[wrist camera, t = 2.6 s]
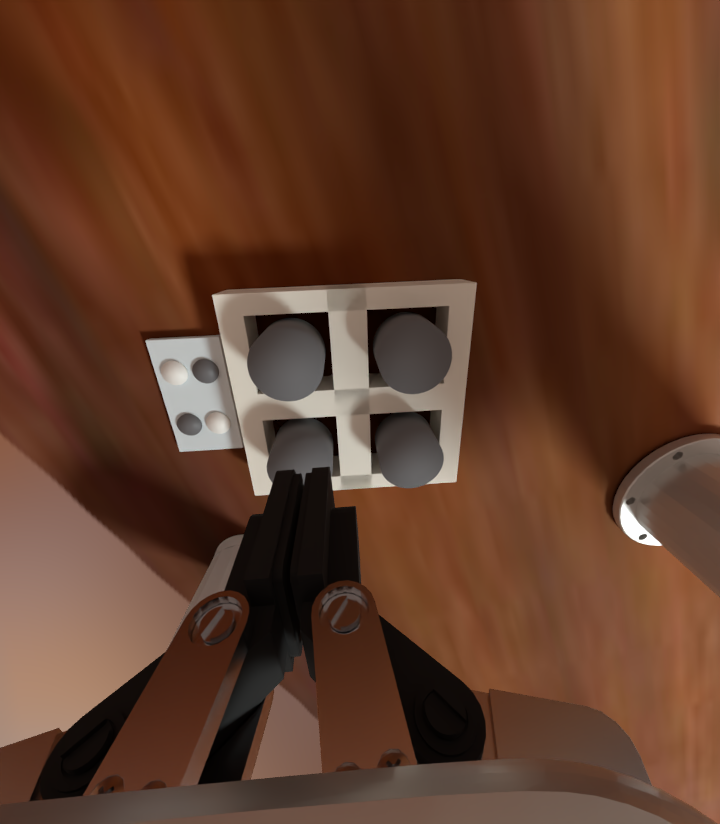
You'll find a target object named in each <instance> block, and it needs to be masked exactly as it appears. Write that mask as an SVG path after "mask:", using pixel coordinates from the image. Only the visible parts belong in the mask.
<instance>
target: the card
mask: <svg viewBox="0 0 720 824" xmlns="http://www.w3.org/2000/svg"><path fill="white" fill-rule="evenodd" d="M145 342H146V345H147V348H148V351H149V354H150V358H151V361H152V364H153V367H154V370H155V374H156V377H157V380H158V383H159V386H160V389H161V393H162V396H163V399H164V402H165V405H166V409H167V412H168V415H169V418H170V421H171V425H172V428H173V431H174V434H175V437H176V441H177V444H178V447H179V450H180V452H183V451H199V450H215V449H231V448H243V446H244V442H243V437H242V433H241V428H240V423H239V419H238V414H237V409H236V405H235V400H234V395H233V391H232V386H231V381H230V377H229V372H228V367H227V363H226V358H225V353H224V349H223V344H222V339H221V335H211V336H191V337H171V338H151V339H148V340H145Z"/></svg>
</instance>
